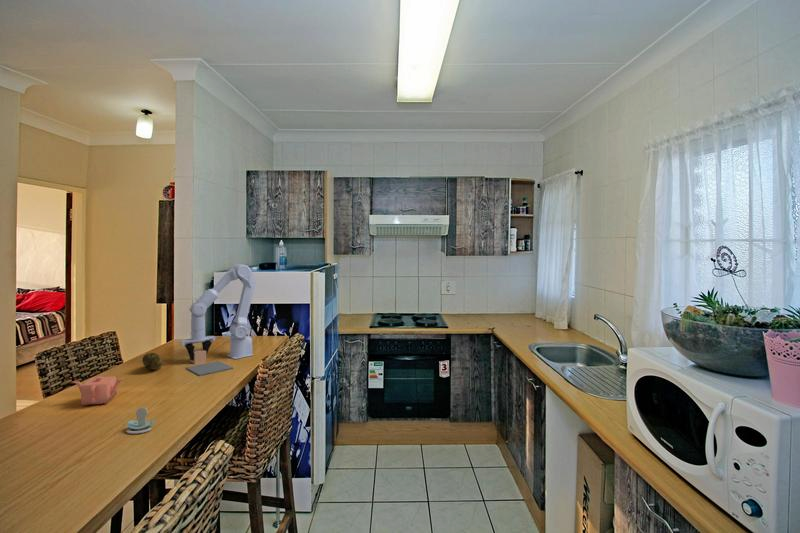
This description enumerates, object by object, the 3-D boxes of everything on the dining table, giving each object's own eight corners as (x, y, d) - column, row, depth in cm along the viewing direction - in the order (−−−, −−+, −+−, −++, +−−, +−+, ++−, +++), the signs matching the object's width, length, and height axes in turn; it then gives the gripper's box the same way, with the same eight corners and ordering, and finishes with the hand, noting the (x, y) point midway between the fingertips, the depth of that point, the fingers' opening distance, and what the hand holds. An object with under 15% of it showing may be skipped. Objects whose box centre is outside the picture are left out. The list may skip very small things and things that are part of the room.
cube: (201, 359, 188) (201, 348, 188) (206, 361, 185) (206, 350, 185) (190, 361, 185) (190, 350, 185) (194, 364, 181) (194, 352, 181)
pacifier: (149, 434, 115) (158, 424, 121) (148, 413, 115) (157, 404, 120) (121, 436, 114) (131, 426, 120) (120, 414, 113) (131, 405, 119)
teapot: (118, 405, 134) (118, 381, 134) (64, 410, 130) (63, 384, 129) (130, 393, 146) (130, 370, 145) (81, 396, 141) (80, 373, 141)
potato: (170, 365, 179) (170, 347, 179) (156, 374, 166) (156, 355, 166) (150, 365, 178) (150, 347, 178) (134, 374, 165) (134, 355, 165)
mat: (218, 362, 185) (218, 360, 185) (233, 368, 176) (233, 367, 175) (185, 368, 174) (185, 367, 174) (199, 376, 165) (199, 374, 165)
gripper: (210, 325, 192) (210, 353, 193) (177, 329, 181) (177, 359, 182) (217, 327, 188) (217, 356, 188) (183, 332, 177) (184, 363, 177)
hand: (198, 358), depth 185 cm, fingers closed on cube, 5 cm apart
